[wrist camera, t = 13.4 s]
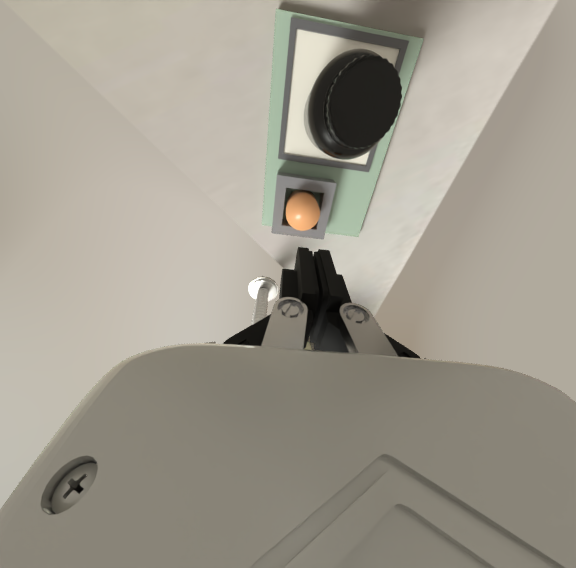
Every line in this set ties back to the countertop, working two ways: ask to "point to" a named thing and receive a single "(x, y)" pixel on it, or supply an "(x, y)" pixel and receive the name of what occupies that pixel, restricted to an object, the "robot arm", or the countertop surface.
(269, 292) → the screw
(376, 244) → the countertop surface
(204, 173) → the countertop surface
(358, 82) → the supplement bottle
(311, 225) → the button
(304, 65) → the mint green tray
